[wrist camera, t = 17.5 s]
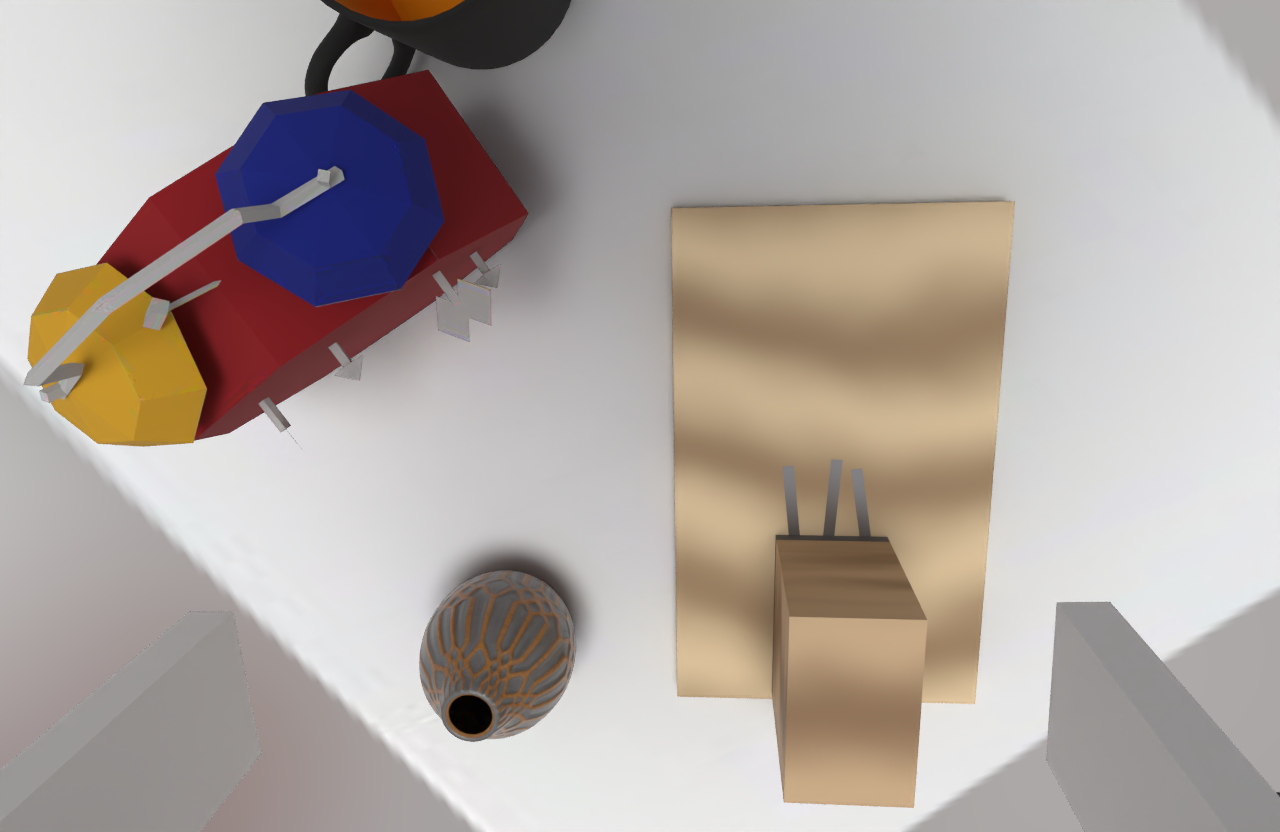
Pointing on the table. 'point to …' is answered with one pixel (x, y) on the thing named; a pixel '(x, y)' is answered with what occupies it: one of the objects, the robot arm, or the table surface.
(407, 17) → the mug
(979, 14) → the table surface
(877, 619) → the wooden block
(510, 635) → the vase
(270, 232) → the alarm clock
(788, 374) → the board
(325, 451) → the table surface
